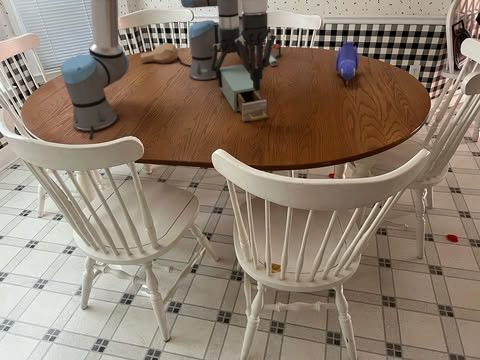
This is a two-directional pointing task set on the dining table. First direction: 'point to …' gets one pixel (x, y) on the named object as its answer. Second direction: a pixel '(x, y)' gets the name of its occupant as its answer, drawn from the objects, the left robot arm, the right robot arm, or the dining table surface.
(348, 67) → the toy
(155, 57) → the squash
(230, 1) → the right robot arm
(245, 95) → the drawer
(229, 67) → the cabinet
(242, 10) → the left robot arm
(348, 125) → the dining table surface
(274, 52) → the tape dispenser
